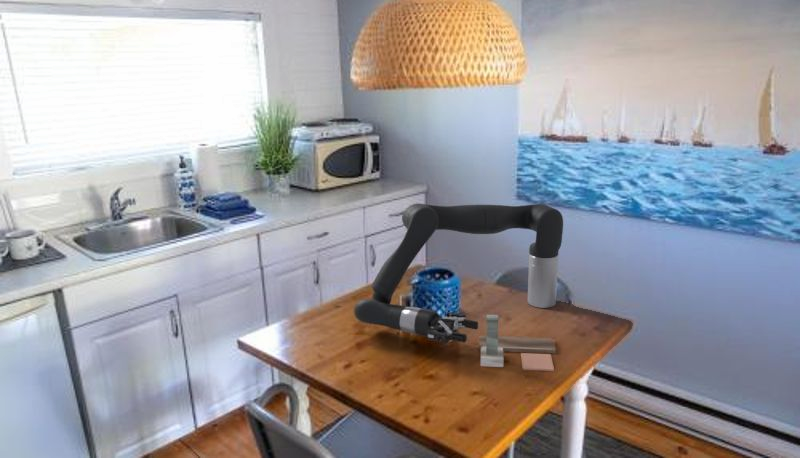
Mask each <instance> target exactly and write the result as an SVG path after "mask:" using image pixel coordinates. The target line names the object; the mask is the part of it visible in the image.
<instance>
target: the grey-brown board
mask: <svg viewBox="0 0 800 458" xmlns="http://www.w3.org/2000/svg"><path fill="white" fill-rule="evenodd" d="M486 337H487V335H479V336H478V350H479V351H481V347H486ZM498 348H503V352H511V353H512V352H514V353H532V354H556V346H555V342H554V338H550V337H528V336H527V337H525V336H524V337H523V336H521V337H520V336H499V335H498Z"/></svg>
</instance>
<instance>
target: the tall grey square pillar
mask: <svg viewBox="0 0 800 458" xmlns="http://www.w3.org/2000/svg"><path fill="white" fill-rule="evenodd" d="M486 336H487V337H486V347H481V350H480V367H494V368H496V367H497V368H504V351H503V348H498V336H499V314H486Z"/></svg>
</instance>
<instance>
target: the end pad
mask: <svg viewBox="0 0 800 458" xmlns="http://www.w3.org/2000/svg"><path fill="white" fill-rule="evenodd" d="M551 354H552V353H532V352H520V360H521V367H522V370H523V371H544V372H545V371H546V372H555V368H554V367H555V366H554V363H553V359H552V355H551Z"/></svg>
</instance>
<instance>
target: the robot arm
mask: <svg viewBox="0 0 800 458" xmlns="http://www.w3.org/2000/svg"><path fill="white" fill-rule="evenodd" d="M401 216H402V217H401V221H402V224H403V226H404V227H405V229H406V232H405V235H404V237H403V239H402V241H401V242H400V244H399V245H398V246H397V248H396V249H395V250H394V251H393V252H392V254H391V255H389V257H388V258H387V259H386V260H385V262H384V263H383V265H382V266H381V268H380V269H379V271H378V273H377V275H376V276H375V279H374V280H373V281H372V285H371V288H372V291H373V293H372V296H371V297H370V299H368V298H364V299H361V300H359V301H358V302H357V303H356V304H355V306H354V308H353V314H354V316H355V318H356V319H357V320H358V321H359V322H361V323H364V324H370V325H377V326H382V327H387V328H390V329H393V330H398V331H403V332H406V333H408V334H412V335H418V336H422V337H426V338H427V340H429V341H433V342H437V343H440V344H441V343H442V344H445V345H446V344H448V343H449V342H454V341H455V342H459V343H466V342H467V338H468V337H467V336H468V335H467V334H465V333H460V332H458V331H457V332H456V331H455V330H459V328H466V329H472V330H478V328H479V322H478V321H477V320H471V319H467V315H466V314H462V313H458V312H457V313H456V312H450V311H447V312H445V313H446V314H445V315H446V316H440V315H439V313H438V312H437V311H436V310H431V309H427V308H421V307H417V306H416V307H415V306H405V305H400V304H392V303H391V302H392V298H393V295H394V293H395V292H396V290H397V288H398V286H399V285H400V283H401V281H402V279H403V277H404V276H405V274H406V272H407V270H408V269H409V267H410V266H411V264H412V263H413V261H414V260H415V258H416V256H418V254H419V253H420V252H421V250H422V249H423V248H424V246H425V244H426V243H427V242H428V241H429V239H430V238H431V237H432V236H433V234H434V233H435V232H436V231H437V230H438V231H440V230H444V231H448V230H449V231H452V232H453V231H454V232H458V233H464V234H471V235H472V234H473V235H492V234H499V233H502V232H504V231H506V230H511V229H523V230H531V231H533V232H535V234H536V235H535V237H536V238H535V242H533V243H531V244H530V245H529V248H528V256H529V257H528V279H527V280H528V283H527V304H529V305H530V306H532V307H534V308H535V307H536V308H542V309H547V308H552V307H555V305H557V304H556V303H557V288H558V287H557V286H558V268H559V265H558V264H559V250H560V249H561V247H562V241H563V233H564V232H563V231H564V217H563V215H562V213H561V211H559V210H558V209H557V208H554V207H552V206H550V205H547V204H545V203H534V204H527V205H502V204H501V205H500V204H464V205H463V204H461V205H450V206H449V205H448V206H447V205H446V206H445V205H431V204H425V203H413V204H411V205H409V206H408V207H406V208H405V209H404V211H403V213H402V215H401ZM441 337H442V338H441Z"/></svg>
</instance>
